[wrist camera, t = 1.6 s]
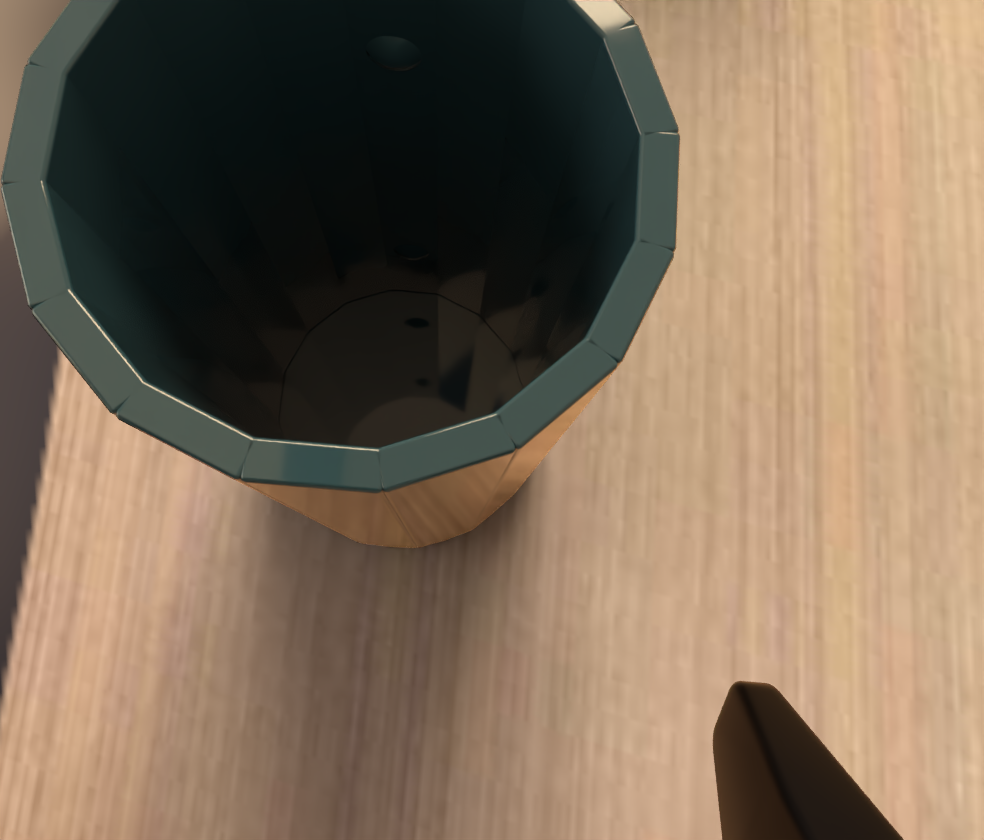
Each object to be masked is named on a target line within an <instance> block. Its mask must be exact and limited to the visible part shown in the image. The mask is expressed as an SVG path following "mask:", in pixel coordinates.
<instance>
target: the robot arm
mask: <svg viewBox="0 0 984 840" xmlns="http://www.w3.org/2000/svg"><path fill="white" fill-rule="evenodd" d="M713 754H714V763H715V773H716V783H717V792H718V802H719V811H720V821H721V830H722V840H903V838H902V837H901V836H900V835H899V834H898V832H897V831H896V830H895V829H894V828H893V826H892V825H891V824H890V823H889V822H888V821H887V819H886V818H885V817H884V816H883V815H882V813H881V812H880V811H879V810H878V809H877V807H876V806H875V805H874V804H873V803H872V801H871V800H870V799H869V798H868V797H867V795H866V794H865V793H864V792H863V791H862V790H861V788H860V787H859V786H858V785H857V784H856V782H855V781H854V780H853V779H852V778H851V776H850V775H849V774H848V773H847V772H846V770H845V769H844V768H843V767H842V766H841V764H840V763H839V762H838V761H837V760H836V759H835V757H834V756H833V755H832V754H831V753H830V751H829V750H828V749H827V748H826V747H825V745H824V744H823V743H822V742H821V741H820V739H819V738H818V737H817V736H816V735H815V734H814V732H813V731H812V730H811V729H810V728H809V726H808V725H807V724H806V723H805V722H804V720H803V719H802V718H801V717H800V716H799V714H798V713H797V712H796V711H795V710H794V708H793V707H792V706H791V705H790V704H789V703H788V701H787V700H786V699H785V698H784V697H783V695H782V694H781V693H780V692H779V691H778V690H777V689H776V688H775V687H774V686H772V685H770V684H767V683H758V682H745V681H738V682H735V683H734V684H733V685H732V686H731V688H730V690H729V692H728V694H727V697H726V700H725V702H724V705H723V707H722V710H721V712H720V715H719V717H718V720H717V722H716V725H715V728H714V733H713Z"/></svg>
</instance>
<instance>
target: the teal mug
mask: <svg viewBox="0 0 984 840" xmlns="http://www.w3.org/2000/svg"><path fill="white" fill-rule="evenodd" d="M678 130H679V129H678V125H677V123H676V120H675V118H674V115H673V113H672V110H671V108H670V105H669V103H668V100H667V97H666V95H665V92H664V90H663V87H662V85H661V82H660V80H659V77H658V75H657V72H656V69H655V67H654V64H653V62H652V59H651V57H650V54H649V52H648V49H647V47H646V44H645V41H644V39H643V36H642V34H641V31H640V29H639V26H638V25H637V24H635V21H634V19H633V18H632V16H631V15H630V14H629V13H628V12H627V11H626V10H625V9H624V8H623V7H622V6H621V5H620V4H619V3H618V2H617V1H616V0H70V1H69V3H68V4H67V6H66V7H65V8H64V10H63V11H62V12H61V14H60V16H59V17H58V18H57V19H56V21H55V22H54V24H53V25H52V26H51V28H50V29H49V31H48V32H47V33H46V35H45V36H44V38H43V39H42V40H41V42H40V43H39V44H38V46H37V47H36V49H35V50H34V51H33V53H32V54H31V56H30V57H29V59H28V65H26V66H25V67H24V72H23V77H22V81H21V86H20V91H19V96H18V101H17V105H16V110H15V115H14V119H13V124H12V129H11V133H10V138H9V143H8V148H7V153H6V157H5V162H4V167H3V172H2V176H1V183H2V185H3V186H1V192H2V197H3V201H4V205H5V209H6V214H7V217H8V222H9V226H10V231H11V234H12V239H13V243H14V247H15V251H16V256H17V260H18V264H19V268H20V273H21V277H22V281H23V285H24V290H25V294H26V297H27V302H28V306H29V307H30V309H31V310H32V313H33V316H34V317H35V318H36V320H37V321H38V322H39V323H40V325H41V326H42V327H43V328H44V330H45V331H46V332H47V333H48V335H49V336H50V337H51V339H52V340H53V341H54V342H55V344H56V345H57V346H58V347H59V349H60V350H61V351H62V352H63V354H64V355H65V356H66V357H67V359H68V360H69V361H70V362H71V364H72V365H73V366H74V367H75V369H76V370H77V371H78V372H79V374H80V375H81V376H82V378H83V379H84V380H85V381H86V383H87V384H88V385H89V386H90V388H91V389H92V390H93V391H94V393H95V394H96V395H97V396H98V398H99V399H100V400H101V401H102V403H103V404H104V405H105V406H106V408H107V409H108V410H109V411H110V412H111V413H112V414H114V415H116V417H117V418H118V419H119V420H121V421H123V422H125V423H126V424H128V425H130V426H132V427H134V428H136V429H138V430H140V431H142V432H144V433H146V434H148V435H149V436H151V437H153V438H155V439H157V440H159V441H161V442H163V443H165V444H167V445H169V446H171V447H172V448H174V449H176V450H178V451H180V452H182V453H184V454H186V455H188V456H190V457H192V458H194V459H195V460H197V461H199V462H201V463H203V464H205V465H207V466H209V467H211V468H213V469H215V470H217V471H218V472H220V473H222V474H224V475H226V476H228V477H230V478H232V479H234V480H236V481H238V482H240V483H242V484H244V485H246V486H248V487H250V488H251V489H253V490H255V491H257V492H259V493H261V494H263V495H265V496H267V497H269V498H271V499H273V500H275V501H277V502H279V503H281V504H283V505H285V506H287V507H289V508H291V509H293V510H295V511H297V512H299V513H301V514H303V515H305V516H307V517H309V518H311V519H313V520H314V521H316V522H318V523H320V524H322V525H324V526H326V527H328V528H330V529H332V530H334V531H336V532H338V533H340V534H342V535H344V536H346V537H348V538H350V539H352V540H354V541H356V542H358V543H362V544H369V545H379V546H386V547H406V548H417V547H418V548H420V547H423V546H427V545H430V544H434V543H438V542H442V541H445V540H448V539H451V538H453V537H456V536H458V535H461V534H464V533H467V532H470V531H471V530H473V529H475V528H476V527H477V526H478V525H479V524H480V523H482V522H483V521H484V520H485V519H487V518H488V517H489V516H491V515H492V514H493V513H494V512H495V511H496V510H497V509H498V508H499V507H500V506H502V505H503V504H504V503H505V502H506V501H507V500H509V499H510V498H511V497H512V496H513V495H514V494H515V493H516V491H517V490H518V489H519V488H520V486H521V485H522V484H523V483H524V482H525V480H526V479H527V478H528V477H529V475H530V474H531V473H532V472H533V471H534V469H535V468H536V467H537V466H538V464H539V463H540V462H541V461H542V459H543V458H544V457H545V456H546V455H547V453H548V452H549V451H550V450H551V448H552V447H553V446H554V445H555V444H556V442H557V441H558V440H559V439H560V437H561V436H562V435H563V434H564V432H565V431H566V430H567V429H568V428H569V426H570V425H571V424H572V423H573V421H574V420H575V419H576V418H577V417H578V415H579V414H580V413H581V412H582V410H583V409H584V408H585V407H586V406H587V404H588V403H589V402H590V401H591V399H592V398H593V397H594V396H595V394H596V393H597V392H598V391H599V390H600V388H601V387H602V386H603V385H604V383H605V382H606V381H607V380H608V379H609V377H610V376H611V375H612V374H613V372H614V371H615V370H616V369H617V367H618V366H619V365H620V364H621V362H622V361H623V359H624V357H625V355H626V353H627V351H628V349H629V347H630V345H631V343H632V341H633V339H634V337H635V335H636V333H637V331H638V329H639V327H640V325H641V323H642V321H643V319H644V317H645V315H646V313H647V311H648V309H649V307H650V305H651V303H652V301H653V298H654V296H655V294H656V292H657V290H658V288H659V286H660V284H661V282H662V280H663V278H664V276H665V274H666V272H667V270H668V268H669V266H670V264H671V262H672V260H673V258H674V251H675V249H676V236H677V209H678V182H679V155H680V135H679V133H678Z"/></svg>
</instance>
